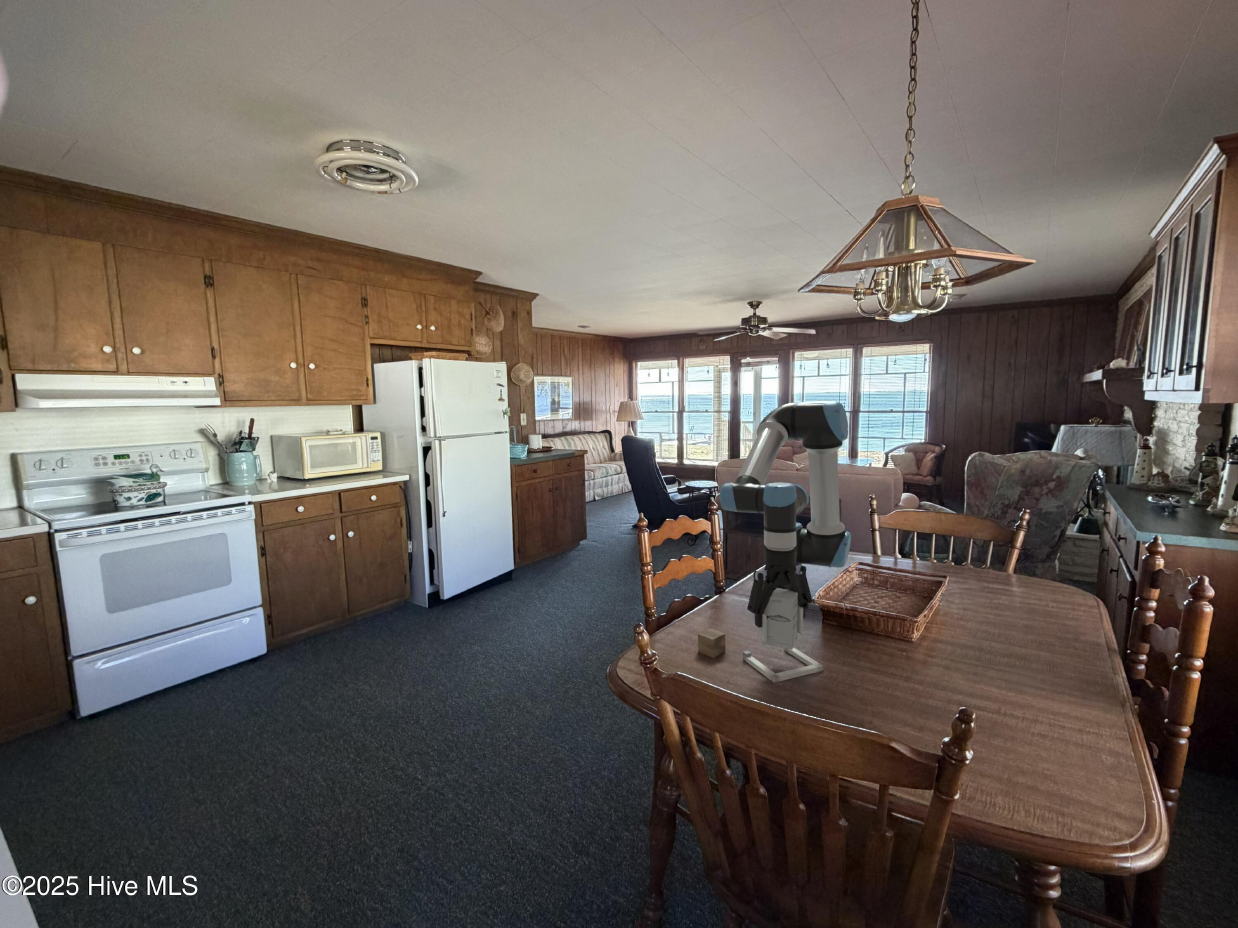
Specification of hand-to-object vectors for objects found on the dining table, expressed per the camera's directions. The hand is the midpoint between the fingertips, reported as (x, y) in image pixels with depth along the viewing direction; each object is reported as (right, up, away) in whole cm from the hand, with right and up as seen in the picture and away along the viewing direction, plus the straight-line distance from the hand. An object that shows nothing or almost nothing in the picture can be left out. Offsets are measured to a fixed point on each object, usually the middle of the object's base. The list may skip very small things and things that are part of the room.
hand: (780, 635), depth 136 cm
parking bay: (0, -7, +1) cm, 8 cm away
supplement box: (0, -2, 0) cm, 2 cm away
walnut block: (-15, -7, +9) cm, 19 cm away
